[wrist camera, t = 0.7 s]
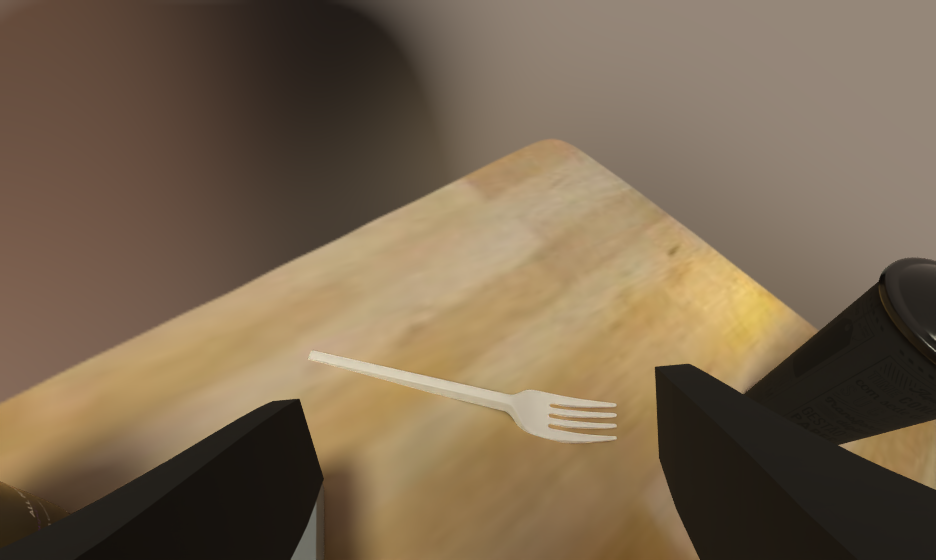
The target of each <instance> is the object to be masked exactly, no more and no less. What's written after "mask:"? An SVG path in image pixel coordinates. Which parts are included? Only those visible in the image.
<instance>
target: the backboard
mask: <svg viewBox="0 0 936 560" xmlns="http://www.w3.org/2000/svg"><path fill="white" fill-rule="evenodd" d="M291 560H324V487H323V484H322V485H321V489H320V492H319V495H318V498H317V501H316V504H315V506H314V509H313V512H312V515H311V517H310V520H309V523H308V525H307V528H306V530H305V532H304V534H303V536H302V538H301V540H300V542H299V544H298V546H297V548H296V550H295V552H294V554H293V556H292V558H291Z"/></svg>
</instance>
